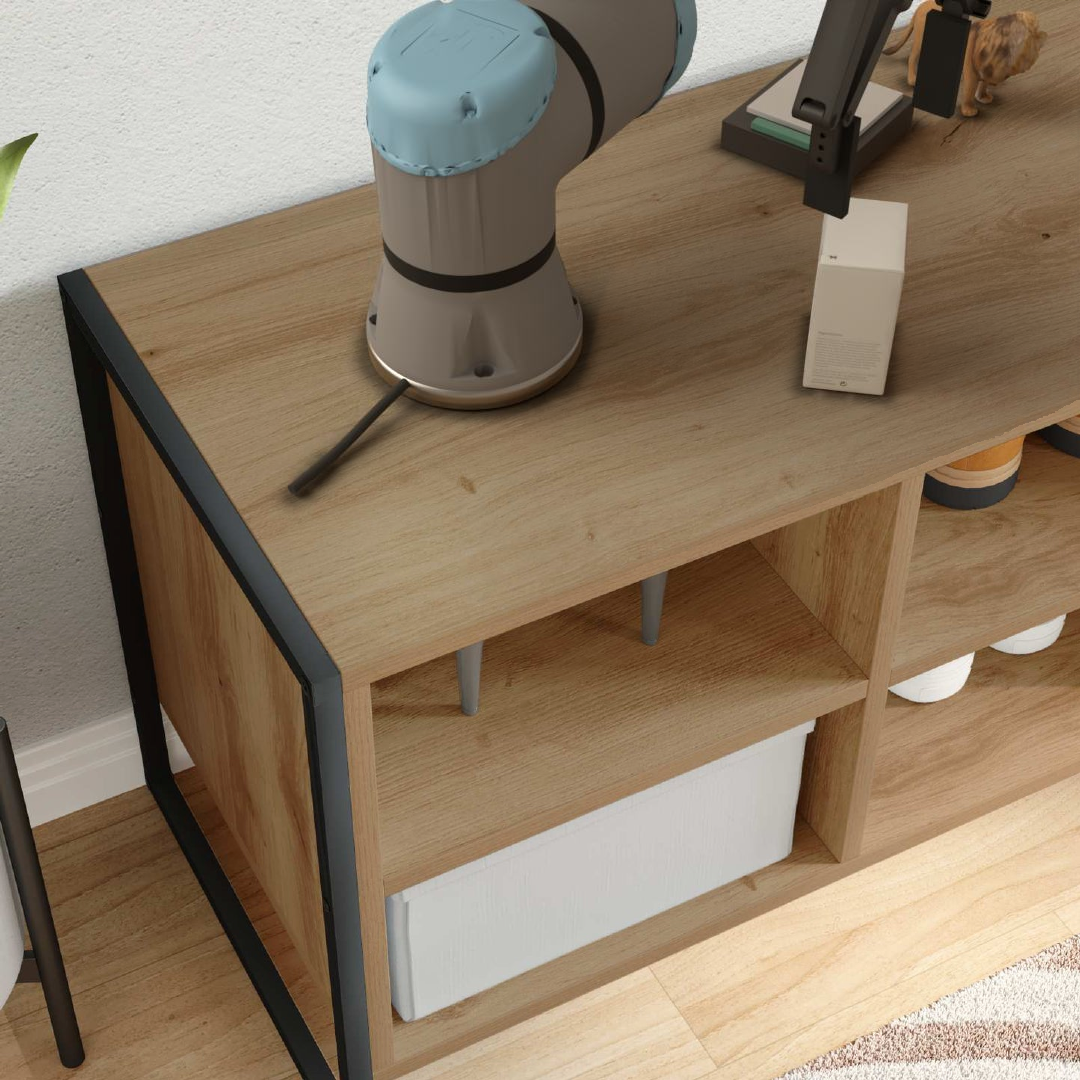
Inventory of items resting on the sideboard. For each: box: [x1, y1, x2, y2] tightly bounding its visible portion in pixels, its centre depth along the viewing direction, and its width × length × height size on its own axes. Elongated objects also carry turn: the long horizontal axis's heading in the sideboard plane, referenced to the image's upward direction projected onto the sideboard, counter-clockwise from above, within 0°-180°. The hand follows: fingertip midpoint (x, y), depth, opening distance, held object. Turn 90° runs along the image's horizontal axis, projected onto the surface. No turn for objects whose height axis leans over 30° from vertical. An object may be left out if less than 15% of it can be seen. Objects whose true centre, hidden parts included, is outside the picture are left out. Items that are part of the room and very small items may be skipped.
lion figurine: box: [881, 0, 1049, 118], centre depth 131 cm, size 15×5×9 cm, turn 44°
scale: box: [719, 58, 915, 181], centre depth 128 cm, size 12×11×3 cm
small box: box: [802, 197, 910, 396], centre depth 106 cm, size 8×6×10 cm
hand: (880, 158), depth 98 cm, fingers open, 13 cm apart
